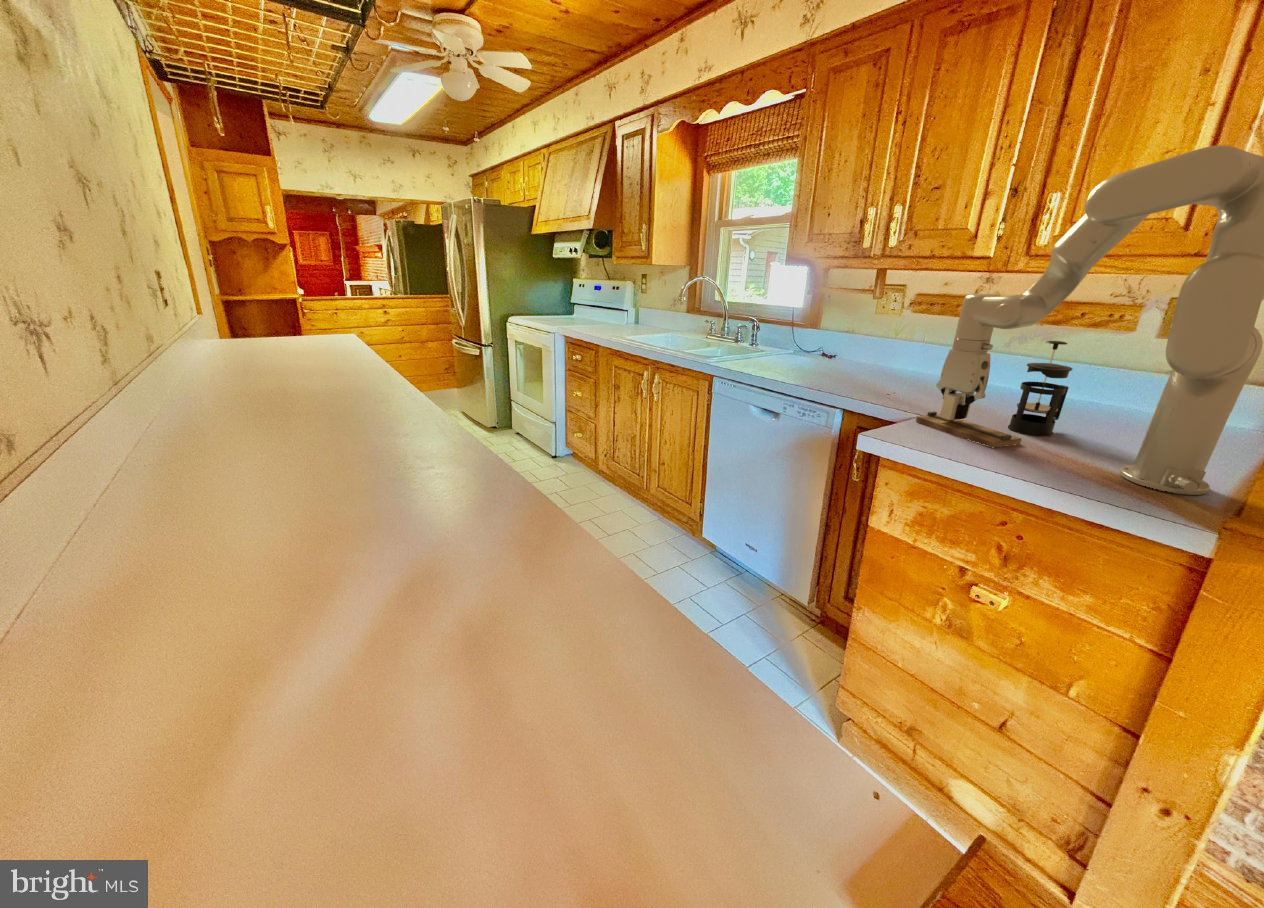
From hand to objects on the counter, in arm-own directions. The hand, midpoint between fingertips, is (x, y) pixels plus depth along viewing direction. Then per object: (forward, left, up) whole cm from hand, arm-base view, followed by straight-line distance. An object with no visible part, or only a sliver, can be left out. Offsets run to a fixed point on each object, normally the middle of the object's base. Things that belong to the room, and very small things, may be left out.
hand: (953, 416), depth 132 cm
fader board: (-3, -2, -3) cm, 5 cm away
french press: (+4, -19, -3) cm, 20 cm away
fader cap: (0, 0, -1) cm, 1 cm away
